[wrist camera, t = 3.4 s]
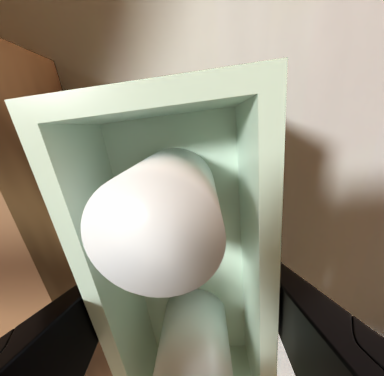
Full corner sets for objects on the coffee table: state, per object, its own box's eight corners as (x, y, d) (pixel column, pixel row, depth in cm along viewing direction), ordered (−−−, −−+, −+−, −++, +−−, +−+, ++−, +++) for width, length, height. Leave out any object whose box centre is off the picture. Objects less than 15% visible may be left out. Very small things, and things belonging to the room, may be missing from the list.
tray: (253, 341, 11) (285, 473, 7) (152, 344, 12) (123, 468, 8) (247, 88, 7) (320, 31, 3) (89, 110, 8) (-59, 91, 3)
